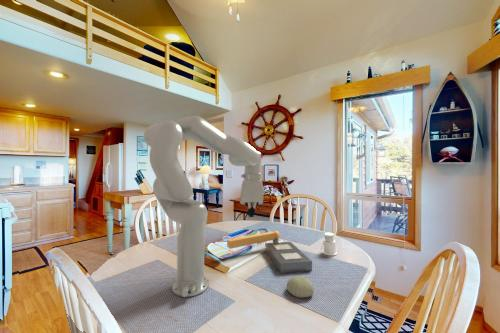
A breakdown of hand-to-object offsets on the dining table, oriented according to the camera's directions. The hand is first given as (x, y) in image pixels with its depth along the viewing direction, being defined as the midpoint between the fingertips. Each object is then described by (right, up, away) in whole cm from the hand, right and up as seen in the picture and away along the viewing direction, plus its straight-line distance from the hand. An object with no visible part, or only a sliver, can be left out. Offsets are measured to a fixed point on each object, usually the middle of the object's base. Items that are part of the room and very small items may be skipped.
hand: (251, 216), depth 103 cm
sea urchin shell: (+17, -22, -25) cm, 37 cm away
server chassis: (+16, -21, +4) cm, 27 cm away
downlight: (+40, -21, +11) cm, 47 cm away
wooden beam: (+2, -16, +10) cm, 19 cm away
